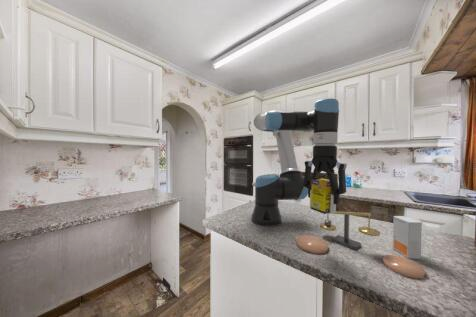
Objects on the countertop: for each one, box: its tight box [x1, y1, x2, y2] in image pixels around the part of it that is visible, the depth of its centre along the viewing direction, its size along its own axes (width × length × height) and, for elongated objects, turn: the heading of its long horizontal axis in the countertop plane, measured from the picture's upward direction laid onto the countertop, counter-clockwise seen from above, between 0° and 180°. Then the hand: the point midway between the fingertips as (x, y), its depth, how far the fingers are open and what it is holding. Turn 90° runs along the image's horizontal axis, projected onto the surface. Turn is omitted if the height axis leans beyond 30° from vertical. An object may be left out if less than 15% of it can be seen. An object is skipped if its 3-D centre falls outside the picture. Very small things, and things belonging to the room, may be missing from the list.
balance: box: [319, 210, 381, 251], centre depth 65 cm, size 20×6×13 cm, turn 36°
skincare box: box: [392, 215, 423, 260], centre depth 58 cm, size 6×4×12 cm
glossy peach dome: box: [382, 254, 426, 279], centre depth 51 cm, size 9×9×1 cm
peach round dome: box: [295, 234, 330, 255], centre depth 64 cm, size 11×11×1 cm
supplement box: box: [310, 178, 333, 215], centre depth 61 cm, size 6×6×11 cm
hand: (322, 209), depth 62 cm, fingers closed on supplement box, 7 cm apart
